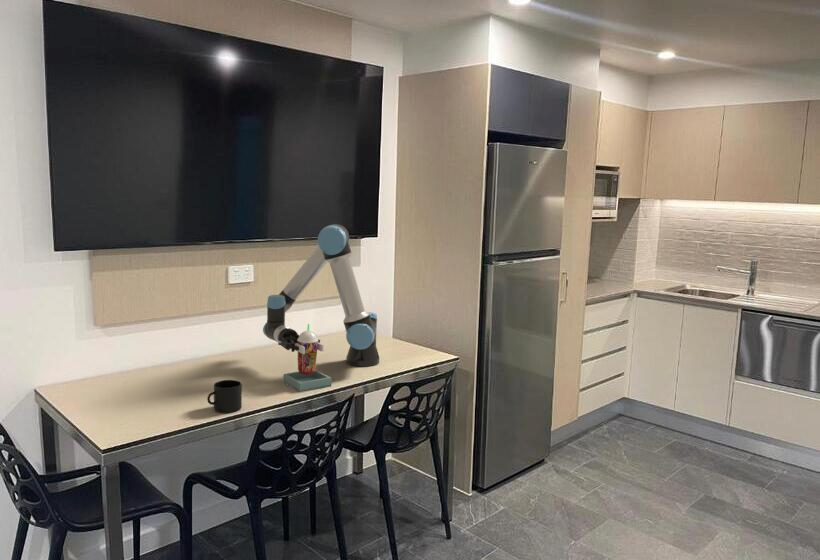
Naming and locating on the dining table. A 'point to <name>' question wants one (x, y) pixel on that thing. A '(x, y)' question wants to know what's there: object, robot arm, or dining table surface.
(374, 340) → the robot arm
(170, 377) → the dining table surface
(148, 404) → the dining table surface
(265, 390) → the dining table surface
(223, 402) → the mug
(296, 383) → the bin
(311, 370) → the smoothie
